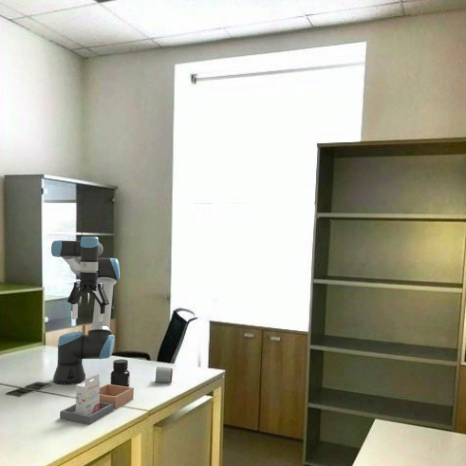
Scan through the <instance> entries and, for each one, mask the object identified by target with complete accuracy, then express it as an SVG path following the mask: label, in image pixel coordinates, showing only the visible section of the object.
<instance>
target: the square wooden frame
mask: <svg viewBox="0 0 466 466" xmlns="http://www.w3.org/2000/svg"><path fill="white" fill-rule="evenodd" d="M134 390H135V389H134V387H131V386H128V387H125V386H118V385H111V384H110V383H106V384H104V385H103V386H100V398H99V402H105V403H111V404H114V406H113V410H117V409H119V408H120V407H123V406H124V405H126V404H127V403H129V402H131V401H132V400H134V395H135V394H134V393H135V392H134Z"/></svg>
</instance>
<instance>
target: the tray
mask: <svg viewBox="0 0 466 466" xmlns="http://www.w3.org/2000/svg"><path fill="white" fill-rule="evenodd" d="M113 406H114V404H111V403H105V402H99V410H98V411H96V412H94V413H92V414H90V415H84V414H78V413H76V403H74V404H73V405H71V406H69V407H67V408H64V409H62V410H60V412H59V420H63V421H69V422H74V423H80V424H85V425H92V424H94V423H95V422H97V421H98V420H100V419H102V418H104V417H105V416H107V415H109V414H111V413H112V412H114V409H113Z"/></svg>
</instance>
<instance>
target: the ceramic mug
mask: <svg viewBox="0 0 466 466" xmlns="http://www.w3.org/2000/svg"><path fill="white" fill-rule="evenodd" d="M173 374H174V370H173V368H172V367H169V366H168V367H167V366H159V365H157V366H156V369H155V383H156V384H157V383H160V384H161V383H163V384H164V383H165V384H166V383H169V384H170V383H172V382H173Z"/></svg>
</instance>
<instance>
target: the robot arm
mask: <svg viewBox="0 0 466 466" xmlns="http://www.w3.org/2000/svg"><path fill="white" fill-rule="evenodd" d="M50 247H51V248H50V252H51V255H52V257H55V258H62V259H63V261H65V262H66V263H67V265H69V268H70V271H71V272H72V273H73V274H74V275H76V276H79V281H75V282H73V288H72V289H71V292H70V294H69V296H68V299H67V303H69V304H70V308H71V309H70V310H71V320H77V319H79V318H78V317H79V316H78V311H79V304H78V302H79V300H80V299H81V298H82V296H83V295H84V294H91V295H93V297H94V306H93V315H92V325H91V328H90V329H89V330H88V333H87V334H84V332H83V331H72V332H66V333H63V334H61V335H60V336H59V337H58V341H57V366H56V369H55V371H54V374H53V378H52V380H53V381H52V382H53V383H54V384H55V385H56V384H57V385H65V386H66V385H74V384H76V385H77V384H81V383H84V382H85V379H86V372H85V368H84V365H83V360H103V359H109V358H110V357H111V356H112V354H113V352H114V347H115V342H116V341H115V339H116V337H115V335H114V334H113V331H112V330H111V328H110V327H111V326H110V325H111V315H112V306H113V303H112V302H113V294H114V293H113V292H114V286H115V285H116V284H117V281H118V280H120V279H121V271H120V269H121V268H120V263H119V260H118V258H115V257H100V256H101V255H102V254H103V253H104V252H103V251H104V247H103V245H102V243H100V242H99V237H97V236H82V237H81V238H80V240H62V239H60V240H54V241H52V243H51V246H50Z"/></svg>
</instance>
